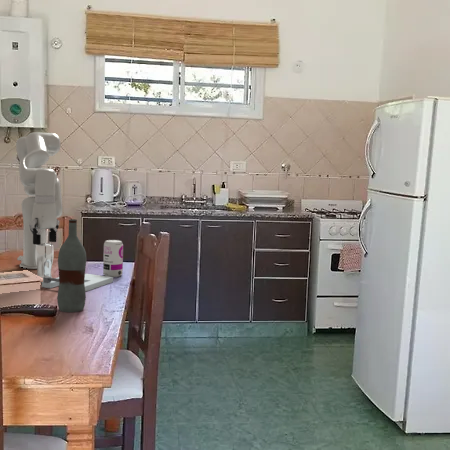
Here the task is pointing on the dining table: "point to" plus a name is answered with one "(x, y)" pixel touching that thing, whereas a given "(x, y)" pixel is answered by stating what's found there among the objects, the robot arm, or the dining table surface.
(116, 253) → the supplement can
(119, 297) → the dining table surface
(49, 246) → the beer glass
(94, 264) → the dining table surface
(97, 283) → the shelf board
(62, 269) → the bottle
